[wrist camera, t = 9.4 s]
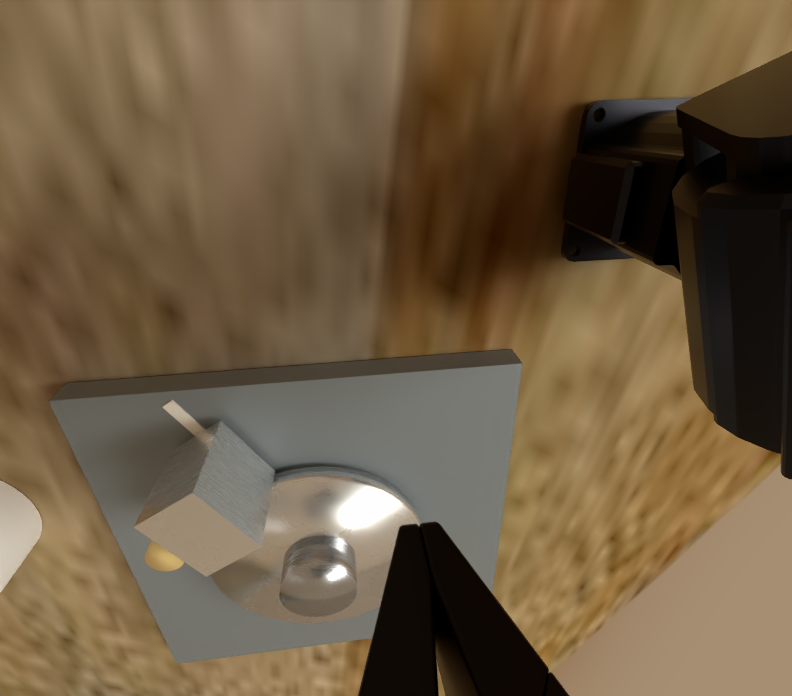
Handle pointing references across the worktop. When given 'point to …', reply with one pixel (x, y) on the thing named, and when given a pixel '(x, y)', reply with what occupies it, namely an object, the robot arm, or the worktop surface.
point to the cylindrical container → (16, 530)
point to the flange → (277, 528)
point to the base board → (299, 465)
